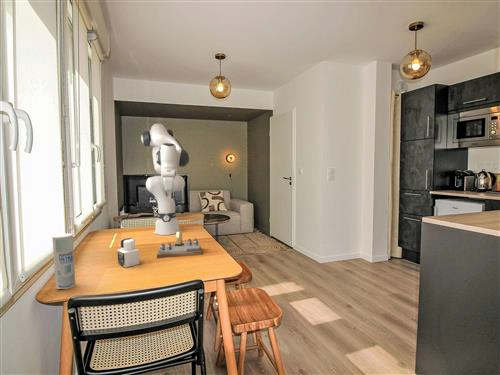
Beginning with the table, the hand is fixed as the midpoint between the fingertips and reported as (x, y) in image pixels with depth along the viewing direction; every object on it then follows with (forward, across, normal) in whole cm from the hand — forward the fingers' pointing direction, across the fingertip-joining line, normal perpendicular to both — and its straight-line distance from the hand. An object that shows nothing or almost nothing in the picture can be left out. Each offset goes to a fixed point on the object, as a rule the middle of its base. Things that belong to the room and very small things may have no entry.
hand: (169, 197), depth 164 cm
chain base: (+28, +15, +5) cm, 32 cm away
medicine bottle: (+28, +26, -18) cm, 42 cm away
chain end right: (+26, +15, +8) cm, 31 cm away
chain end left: (+26, +15, +2) cm, 30 cm away
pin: (+26, +14, +5) cm, 30 cm away
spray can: (+27, +47, -37) cm, 66 cm away
